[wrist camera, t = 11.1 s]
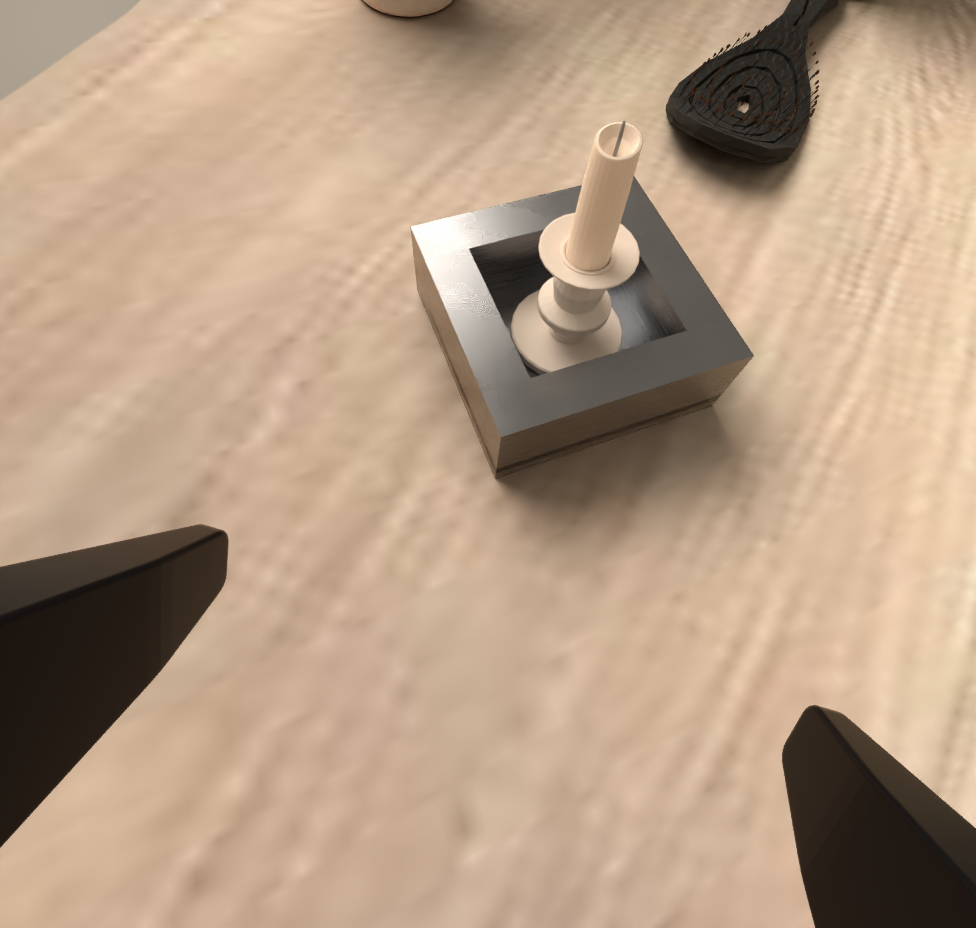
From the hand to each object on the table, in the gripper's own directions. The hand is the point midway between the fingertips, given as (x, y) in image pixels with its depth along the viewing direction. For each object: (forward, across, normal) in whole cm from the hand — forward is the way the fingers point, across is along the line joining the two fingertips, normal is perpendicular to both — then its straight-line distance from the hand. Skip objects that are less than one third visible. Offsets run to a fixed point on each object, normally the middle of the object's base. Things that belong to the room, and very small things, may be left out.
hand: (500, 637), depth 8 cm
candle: (+20, 0, -2) cm, 20 cm away
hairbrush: (+40, -8, -19) cm, 45 cm away
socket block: (+21, 0, -2) cm, 21 cm away
